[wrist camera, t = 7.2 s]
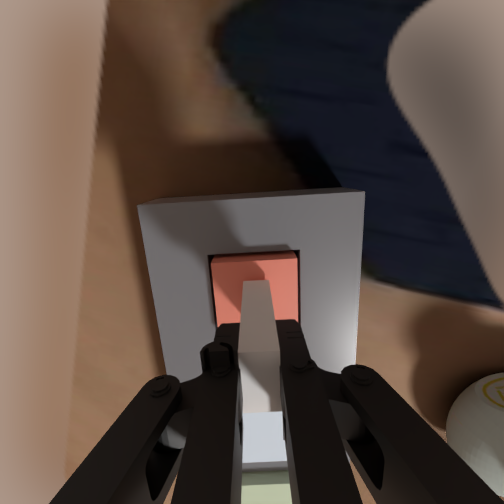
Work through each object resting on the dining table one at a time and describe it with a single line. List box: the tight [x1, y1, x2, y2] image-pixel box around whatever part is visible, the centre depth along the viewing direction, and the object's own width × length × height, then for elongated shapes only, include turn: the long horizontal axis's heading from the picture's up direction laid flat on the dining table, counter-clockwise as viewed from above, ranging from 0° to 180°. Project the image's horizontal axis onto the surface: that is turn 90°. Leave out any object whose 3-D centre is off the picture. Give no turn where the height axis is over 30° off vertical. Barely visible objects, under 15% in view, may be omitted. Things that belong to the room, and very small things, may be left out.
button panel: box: [137, 187, 365, 472], centre depth 22 cm, size 30×13×4 cm, turn 3°
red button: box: [211, 250, 298, 327], centre depth 18 cm, size 5×5×3 cm
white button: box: [242, 411, 287, 463], centre depth 20 cm, size 5×5×3 cm
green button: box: [241, 470, 292, 504], centre depth 23 cm, size 5×5×3 cm
